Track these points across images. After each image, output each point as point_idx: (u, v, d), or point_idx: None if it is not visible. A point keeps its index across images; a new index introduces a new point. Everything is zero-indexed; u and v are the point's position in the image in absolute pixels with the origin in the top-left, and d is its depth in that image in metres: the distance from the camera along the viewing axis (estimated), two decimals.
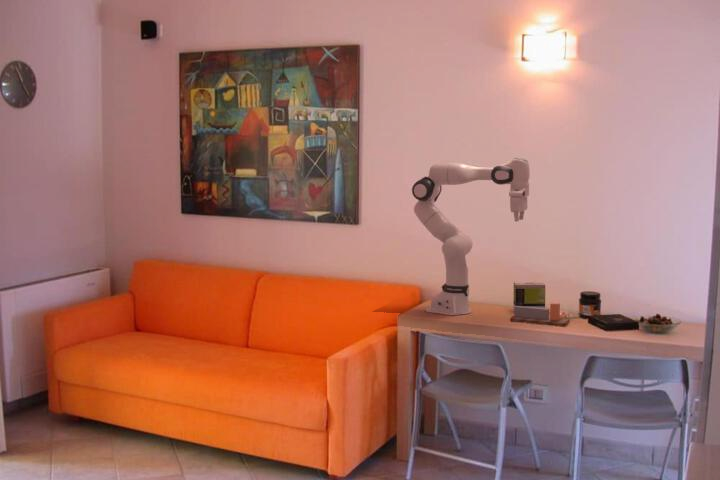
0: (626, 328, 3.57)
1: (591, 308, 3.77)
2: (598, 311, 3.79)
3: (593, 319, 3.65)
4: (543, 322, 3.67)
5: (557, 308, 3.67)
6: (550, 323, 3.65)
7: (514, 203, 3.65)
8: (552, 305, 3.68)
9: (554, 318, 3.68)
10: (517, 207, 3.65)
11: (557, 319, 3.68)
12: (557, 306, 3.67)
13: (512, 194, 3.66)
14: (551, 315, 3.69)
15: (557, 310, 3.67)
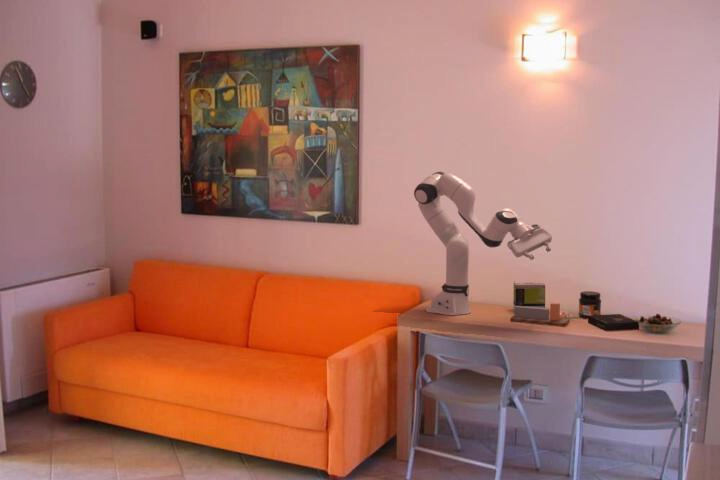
0: (626, 328, 3.57)
1: (591, 308, 3.77)
2: (598, 311, 3.79)
3: (593, 319, 3.65)
4: (543, 322, 3.67)
5: (557, 308, 3.67)
6: (550, 323, 3.65)
7: None
8: (552, 305, 3.68)
9: (554, 318, 3.68)
10: None
11: (557, 319, 3.68)
12: (557, 306, 3.67)
13: None
14: (551, 315, 3.69)
15: (557, 310, 3.67)
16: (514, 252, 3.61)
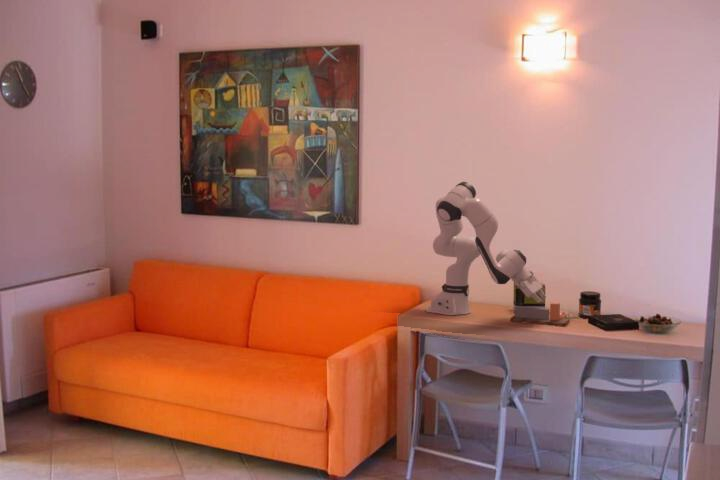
0: (626, 328, 3.57)
1: (591, 308, 3.77)
2: (598, 311, 3.79)
3: (593, 319, 3.65)
4: (543, 322, 3.67)
5: (557, 308, 3.67)
6: (550, 323, 3.65)
7: None
8: (552, 305, 3.68)
9: (554, 318, 3.68)
10: None
11: (557, 319, 3.68)
12: (557, 306, 3.67)
13: None
14: (551, 315, 3.69)
15: (557, 310, 3.67)
16: (527, 292, 3.62)
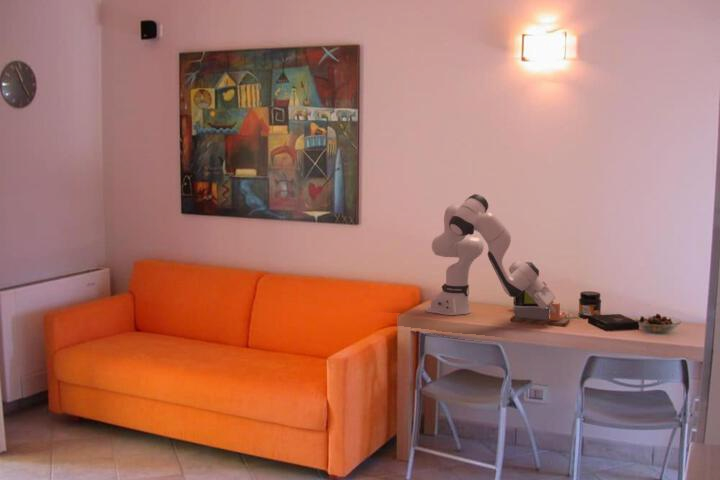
0: (626, 328, 3.57)
1: (591, 308, 3.77)
2: (598, 311, 3.79)
3: (593, 319, 3.65)
4: (543, 322, 3.67)
5: (557, 308, 3.67)
6: (550, 323, 3.65)
7: None
8: (552, 305, 3.68)
9: (554, 318, 3.68)
10: None
11: (557, 319, 3.68)
12: (557, 306, 3.67)
13: None
14: (551, 315, 3.69)
15: (557, 310, 3.67)
16: (542, 303, 3.61)
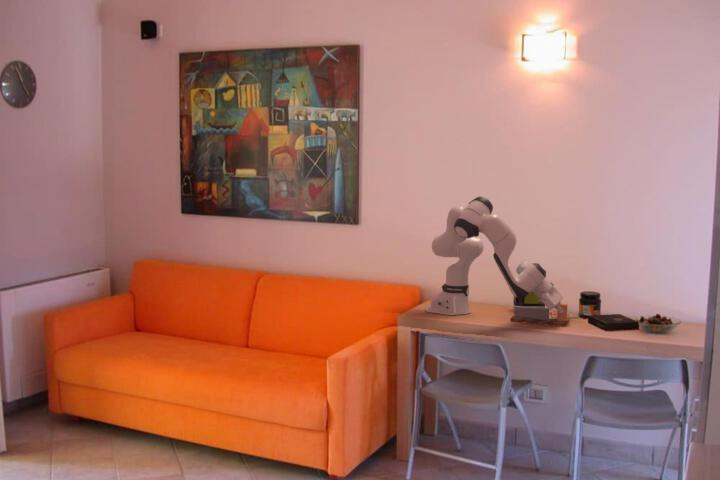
0: (626, 328, 3.57)
1: (591, 308, 3.77)
2: (598, 311, 3.79)
3: (593, 319, 3.65)
4: (543, 322, 3.67)
5: (565, 309, 3.66)
6: (550, 323, 3.65)
7: None
8: (560, 306, 3.66)
9: (562, 319, 3.67)
10: None
11: (565, 320, 3.66)
12: (565, 307, 3.65)
13: None
14: (559, 316, 3.67)
15: (565, 311, 3.66)
16: (549, 304, 3.60)
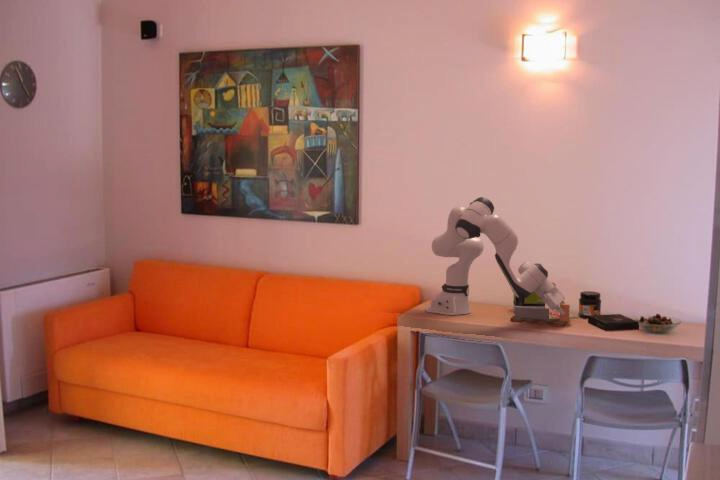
0: (626, 328, 3.57)
1: (591, 308, 3.77)
2: (598, 311, 3.79)
3: (593, 319, 3.65)
4: (543, 322, 3.67)
5: (567, 309, 3.65)
6: (550, 323, 3.65)
7: None
8: (562, 306, 3.66)
9: (564, 319, 3.66)
10: None
11: (567, 320, 3.66)
12: (567, 307, 3.65)
13: None
14: (561, 316, 3.67)
15: (567, 311, 3.65)
16: (551, 304, 3.59)
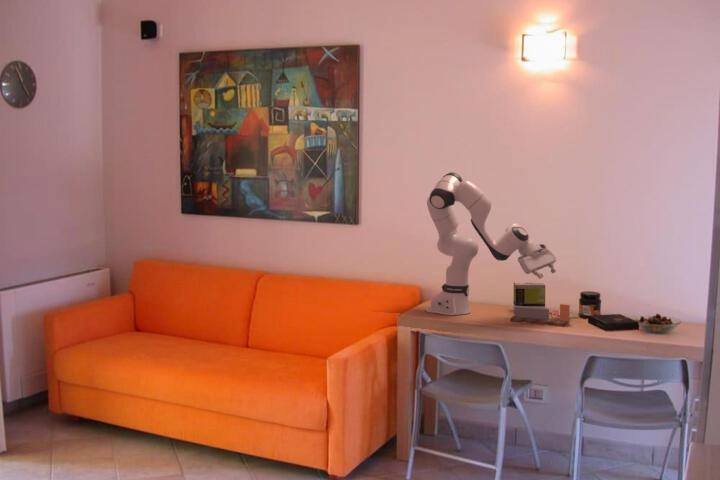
0: (626, 328, 3.57)
1: (591, 308, 3.77)
2: (598, 311, 3.79)
3: (593, 319, 3.65)
4: (543, 322, 3.67)
5: (567, 309, 3.65)
6: (550, 323, 3.65)
7: None
8: (562, 306, 3.66)
9: (564, 319, 3.66)
10: None
11: (567, 320, 3.66)
12: (567, 307, 3.65)
13: None
14: (561, 316, 3.67)
15: (567, 311, 3.65)
16: (525, 268, 3.65)
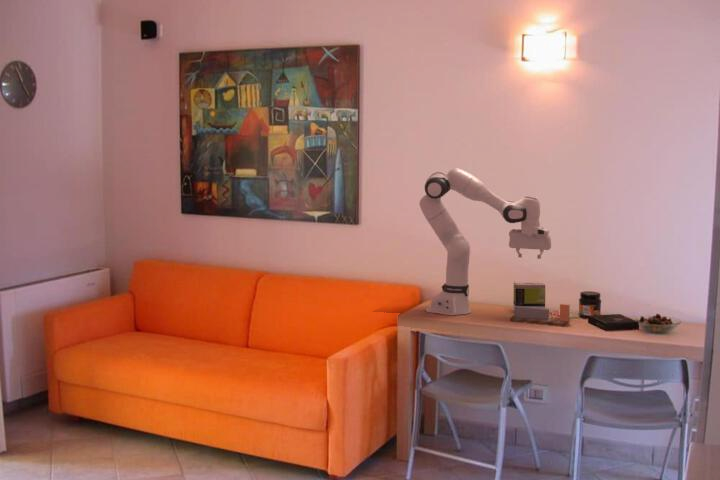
0: (626, 328, 3.57)
1: (591, 308, 3.77)
2: (598, 311, 3.79)
3: (593, 319, 3.65)
4: (543, 322, 3.67)
5: (567, 309, 3.65)
6: (550, 323, 3.65)
7: (550, 241, 3.76)
8: (562, 306, 3.66)
9: (564, 319, 3.66)
10: (550, 244, 3.78)
11: (567, 320, 3.66)
12: (567, 307, 3.65)
13: (547, 232, 3.75)
14: (561, 316, 3.67)
15: (567, 311, 3.65)
16: None
